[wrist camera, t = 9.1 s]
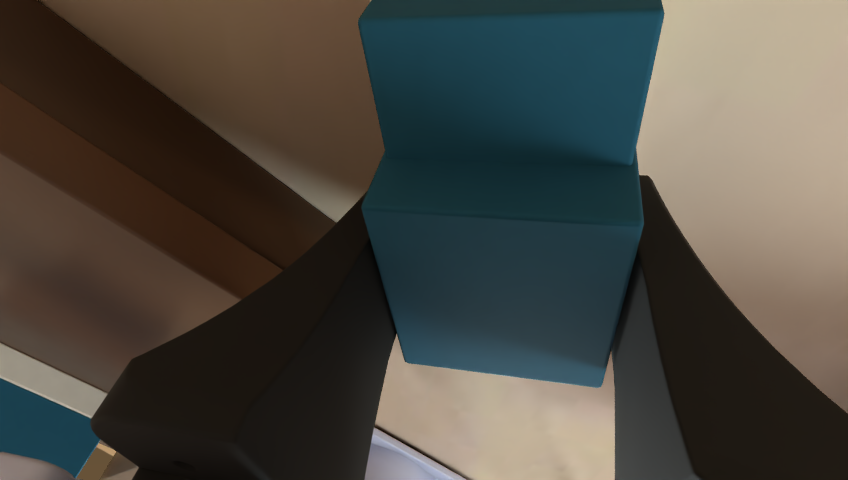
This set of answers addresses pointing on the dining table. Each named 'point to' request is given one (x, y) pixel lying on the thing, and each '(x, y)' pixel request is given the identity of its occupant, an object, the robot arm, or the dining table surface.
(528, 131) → the block
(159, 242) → the shoe rack
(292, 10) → the dining table surface
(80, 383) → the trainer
